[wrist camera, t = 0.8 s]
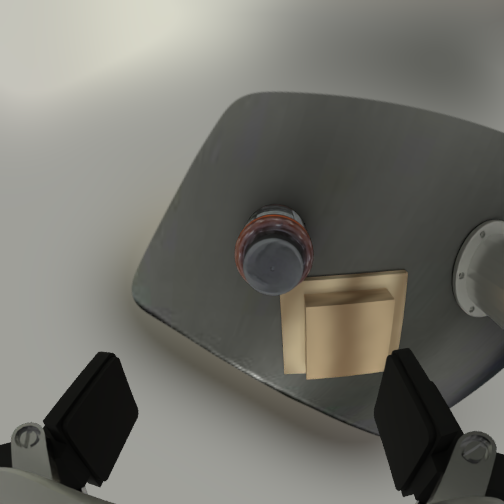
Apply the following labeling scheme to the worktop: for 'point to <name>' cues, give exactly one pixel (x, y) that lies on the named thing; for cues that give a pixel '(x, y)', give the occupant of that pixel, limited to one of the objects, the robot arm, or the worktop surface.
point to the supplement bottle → (274, 250)
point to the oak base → (334, 285)
